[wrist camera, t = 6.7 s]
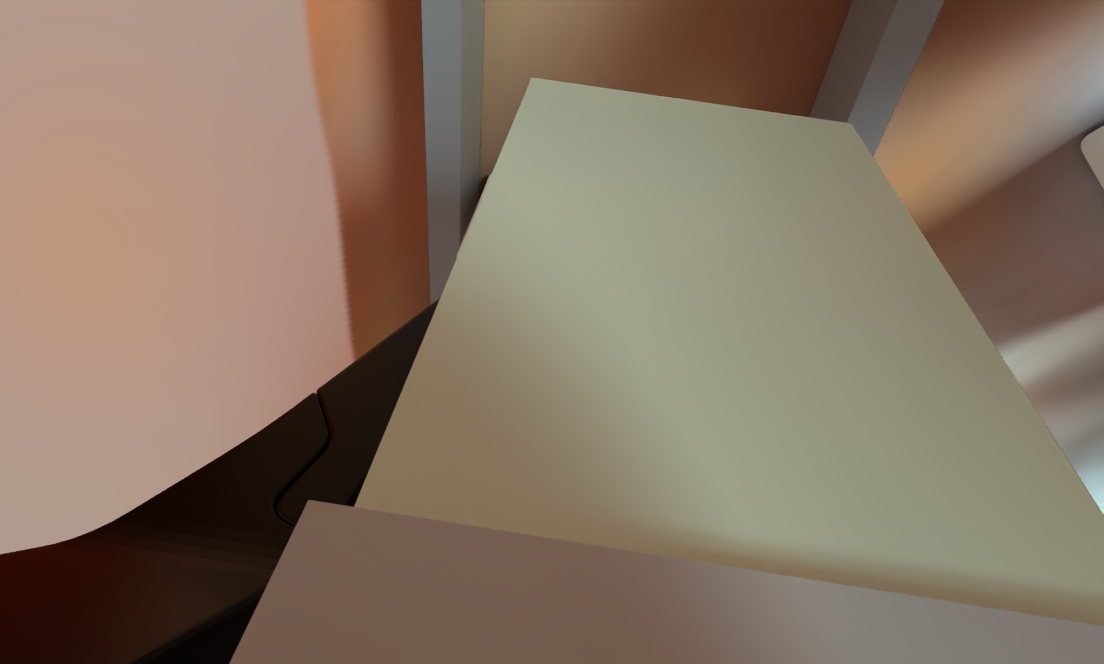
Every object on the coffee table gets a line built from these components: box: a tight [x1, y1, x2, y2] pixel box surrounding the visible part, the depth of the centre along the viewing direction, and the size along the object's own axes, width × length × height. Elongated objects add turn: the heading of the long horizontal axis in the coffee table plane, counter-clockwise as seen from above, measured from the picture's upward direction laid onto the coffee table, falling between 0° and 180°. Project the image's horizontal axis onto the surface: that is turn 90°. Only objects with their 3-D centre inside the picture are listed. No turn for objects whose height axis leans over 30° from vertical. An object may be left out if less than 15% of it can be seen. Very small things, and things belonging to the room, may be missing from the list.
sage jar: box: [229, 78, 1104, 664], centre depth 8 cm, size 5×5×9 cm
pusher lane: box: [421, 0, 945, 305], centre depth 19 cm, size 21×12×4 cm, turn 174°
